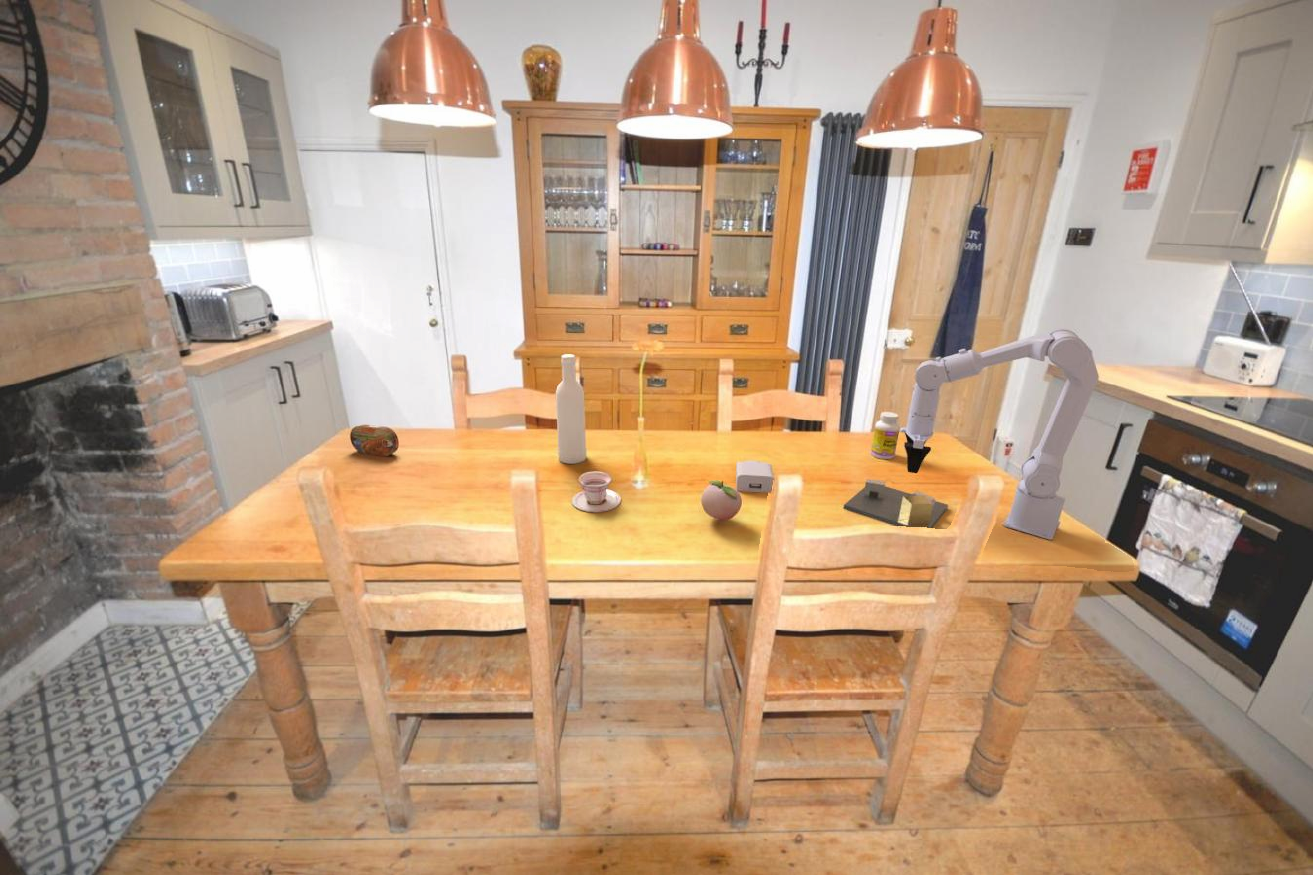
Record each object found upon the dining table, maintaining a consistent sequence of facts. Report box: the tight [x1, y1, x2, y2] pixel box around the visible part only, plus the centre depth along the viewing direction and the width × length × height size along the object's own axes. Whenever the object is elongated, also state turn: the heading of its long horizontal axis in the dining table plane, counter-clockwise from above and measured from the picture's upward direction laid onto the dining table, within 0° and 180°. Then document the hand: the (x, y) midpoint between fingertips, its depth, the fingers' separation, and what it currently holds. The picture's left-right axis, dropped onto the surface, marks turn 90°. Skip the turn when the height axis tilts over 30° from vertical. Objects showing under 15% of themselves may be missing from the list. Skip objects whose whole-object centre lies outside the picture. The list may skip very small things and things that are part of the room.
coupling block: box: [899, 495, 933, 524], centre depth 129 cm, size 5×4×5 cm
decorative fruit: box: [700, 479, 743, 522], centre depth 128 cm, size 9×8×10 cm
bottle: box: [555, 354, 587, 465], centre depth 157 cm, size 8×8×30 cm
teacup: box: [571, 471, 622, 513], centre depth 137 cm, size 12×12×6 cm
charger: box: [735, 459, 775, 494], centre depth 151 cm, size 5×9×15 cm
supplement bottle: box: [870, 411, 901, 460], centre depth 166 cm, size 7×7×13 cm
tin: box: [349, 424, 400, 457], centre depth 163 cm, size 15×3×8 cm, turn 73°
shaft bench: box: [843, 478, 949, 529], centre depth 136 cm, size 19×17×4 cm
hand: (912, 466), depth 137 cm, fingers open, 7 cm apart
